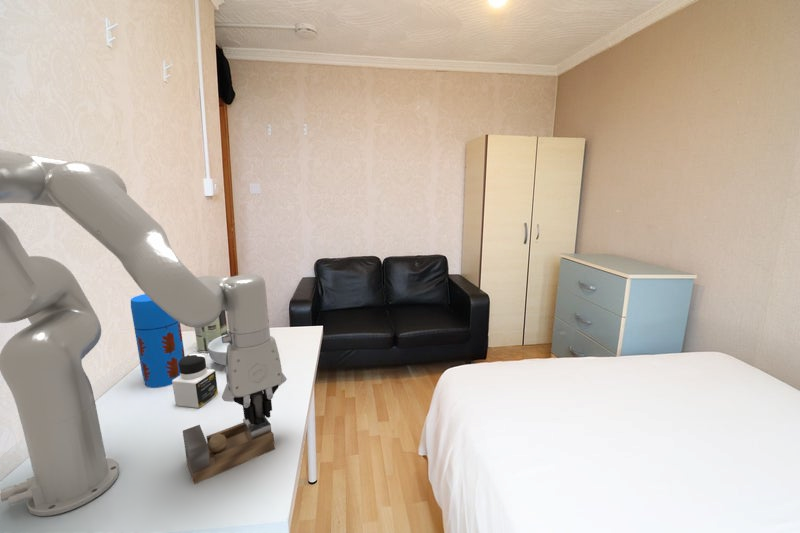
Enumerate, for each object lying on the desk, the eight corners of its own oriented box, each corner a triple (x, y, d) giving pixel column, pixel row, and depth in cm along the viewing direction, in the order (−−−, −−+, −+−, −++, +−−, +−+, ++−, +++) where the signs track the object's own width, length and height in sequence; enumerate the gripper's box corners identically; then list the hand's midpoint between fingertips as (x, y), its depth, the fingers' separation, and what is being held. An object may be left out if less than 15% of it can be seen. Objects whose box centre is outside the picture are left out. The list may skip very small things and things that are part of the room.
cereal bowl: (231, 378, 106) (228, 356, 105) (199, 365, 115) (196, 344, 114) (278, 356, 121) (276, 336, 119) (246, 346, 129) (244, 327, 128)
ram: (252, 444, 74) (247, 400, 72) (244, 430, 79) (239, 389, 77) (272, 436, 77) (267, 393, 75) (262, 423, 81) (258, 382, 79)
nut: (210, 459, 71) (208, 443, 70) (207, 450, 73) (205, 435, 73) (229, 451, 73) (227, 436, 72) (225, 442, 75) (223, 428, 75)
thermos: (190, 367, 114) (179, 289, 109) (183, 383, 104) (171, 298, 99) (149, 373, 110) (136, 293, 105) (138, 391, 100) (123, 303, 96)
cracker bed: (194, 484, 67) (189, 450, 66) (186, 460, 73) (182, 429, 72) (274, 448, 76) (271, 418, 75) (262, 430, 82) (259, 402, 81)
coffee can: (218, 339, 136) (214, 303, 134) (235, 344, 131) (231, 307, 128) (190, 349, 128) (185, 310, 125) (207, 355, 122) (202, 315, 120)
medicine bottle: (199, 408, 91) (193, 364, 89) (175, 406, 93) (168, 362, 91) (218, 393, 98) (213, 352, 96) (195, 391, 100) (190, 350, 97)
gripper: (210, 352, 66) (221, 443, 70) (296, 331, 76) (302, 411, 79) (202, 340, 72) (213, 424, 75) (282, 322, 82) (289, 397, 85)
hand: (258, 417), depth 77 cm, fingers closed on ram, 2 cm apart
